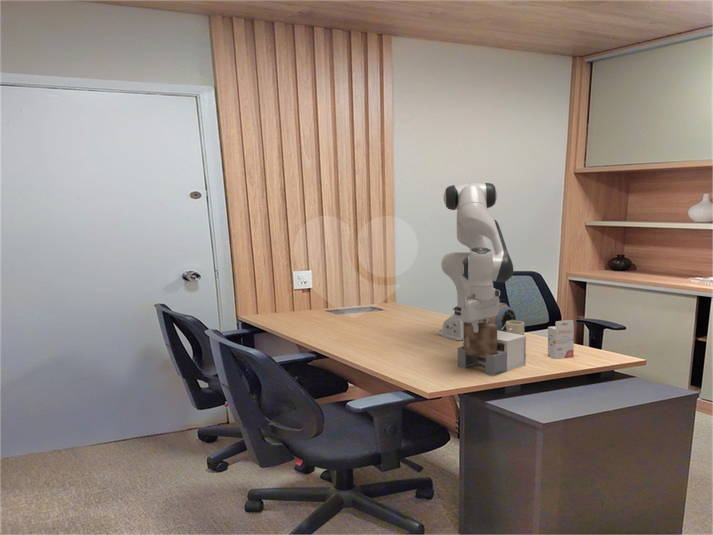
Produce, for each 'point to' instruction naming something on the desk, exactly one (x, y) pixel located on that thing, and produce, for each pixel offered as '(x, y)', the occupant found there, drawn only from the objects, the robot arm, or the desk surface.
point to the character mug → (515, 327)
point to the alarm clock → (502, 317)
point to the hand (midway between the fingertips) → (480, 331)
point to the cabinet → (499, 354)
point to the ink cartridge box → (561, 339)
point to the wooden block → (480, 340)
